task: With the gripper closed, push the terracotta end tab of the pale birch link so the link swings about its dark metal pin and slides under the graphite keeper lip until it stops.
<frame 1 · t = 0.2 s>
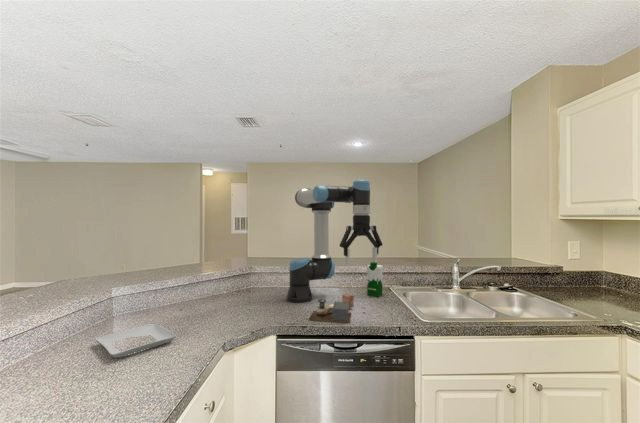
hand: (361, 262, 128), 28 cm above the worktop, tool pointing down, fingers open, 13 cm apart
salad plate: (136, 345, 109), on the worktop
milk carton: (375, 295, 178), on the worktop
link: (334, 303, 146), point 4 cm above the worktop, hinge at 45.0°
keeper: (321, 315, 141), on the worktop
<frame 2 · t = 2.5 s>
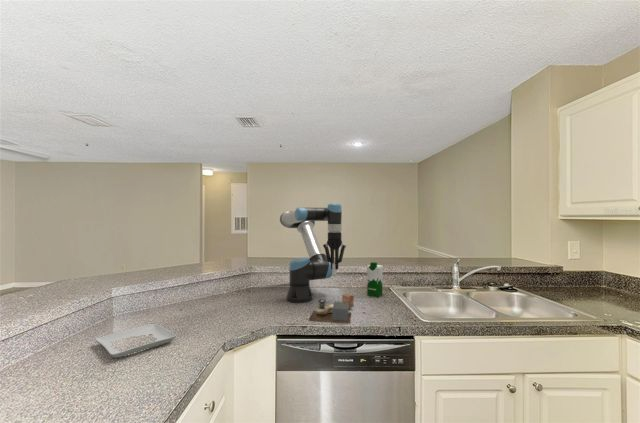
hand: (334, 275, 157), 16 cm above the worktop, tool pointing down, fingers closed
nothing on the worktop moved.
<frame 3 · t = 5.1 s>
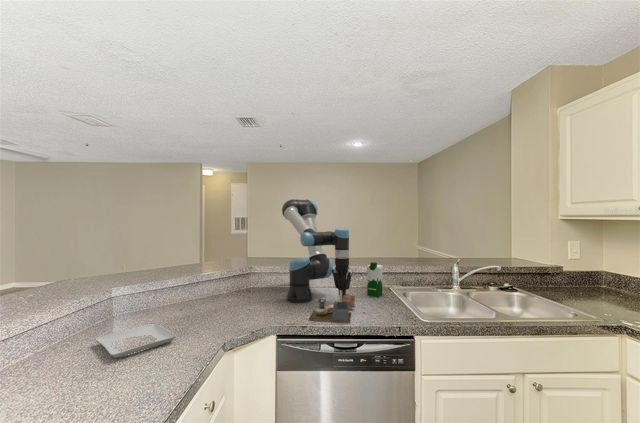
hand: (342, 302, 153), 3 cm above the worktop, tool pointing down, fingers closed
link: (335, 304, 146), point 4 cm above the worktop, hinge at 41.9°, touching gripper
everything else where it was.
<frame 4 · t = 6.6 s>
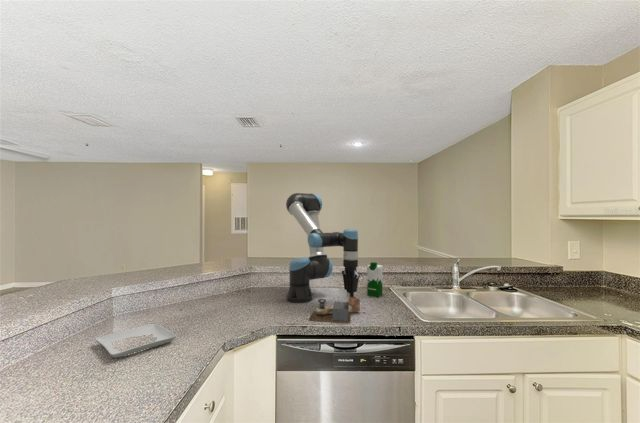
hand: (350, 304, 150), 2 cm above the worktop, tool pointing down, fingers closed
link: (337, 305, 143), point 4 cm above the worktop, hinge at 24.1°, touching gripper
everything else where it was.
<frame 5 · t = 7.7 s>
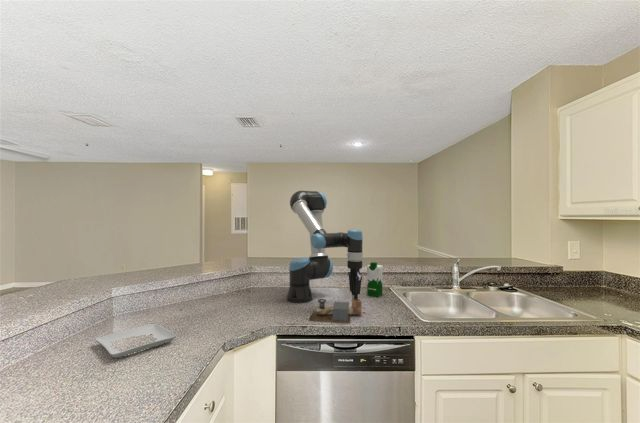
hand: (354, 307, 146), 2 cm above the worktop, tool pointing down, fingers closed
link: (338, 306, 141), point 4 cm above the worktop, hinge at 9.5°, touching gripper
everything else where it was.
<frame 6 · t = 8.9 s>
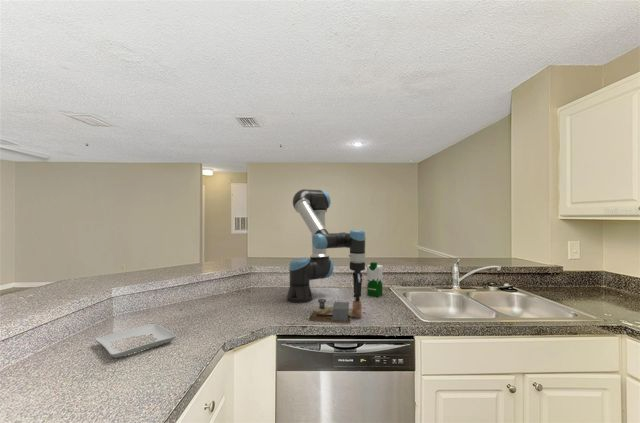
hand: (357, 309, 142), 2 cm above the worktop, tool pointing down, fingers closed
link: (338, 307, 140), point 4 cm above the worktop, hinge at -1.8°, touching gripper, keeper
everything else where it was.
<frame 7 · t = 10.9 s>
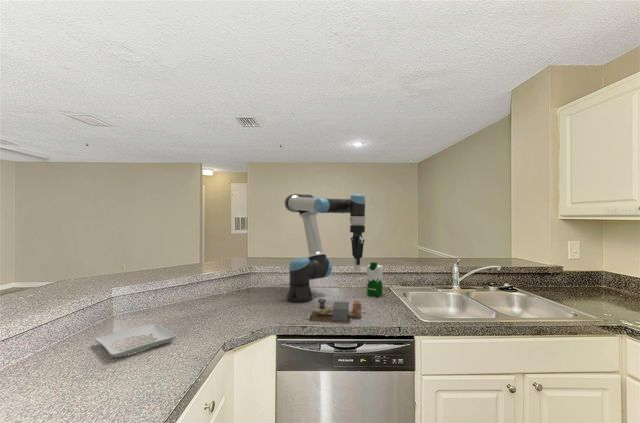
hand: (357, 270, 148), 20 cm above the worktop, tool pointing down, fingers closed
link: (338, 307, 140), point 4 cm above the worktop, hinge at -0.6°
everything else where it was.
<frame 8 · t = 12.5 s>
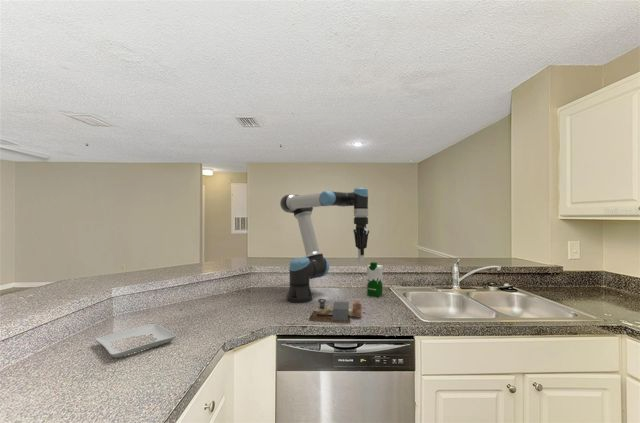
hand: (361, 261, 154), 24 cm above the worktop, tool pointing down, fingers closed
nothing on the worktop moved.
at the end: link at -1° (first picture: +45°) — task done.
